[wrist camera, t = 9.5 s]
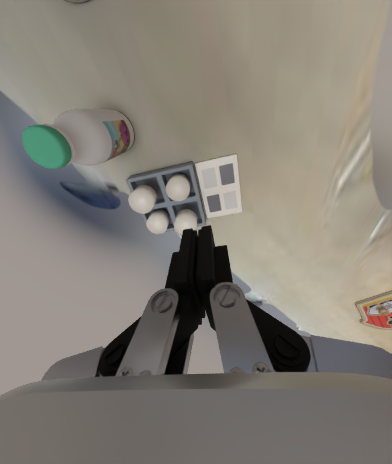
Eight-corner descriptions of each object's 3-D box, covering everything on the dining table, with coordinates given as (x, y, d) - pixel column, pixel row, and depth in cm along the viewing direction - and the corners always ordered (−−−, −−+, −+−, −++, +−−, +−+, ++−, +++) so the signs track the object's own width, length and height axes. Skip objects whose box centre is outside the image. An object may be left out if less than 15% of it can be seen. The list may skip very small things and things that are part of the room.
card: (195, 163, 39) (195, 164, 38) (236, 153, 38) (236, 154, 37) (207, 217, 47) (207, 218, 46) (241, 210, 45) (242, 212, 45)
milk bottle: (92, 136, 37) (0, 156, 21) (105, 99, 33) (6, 87, 17) (126, 159, 39) (68, 194, 23) (141, 127, 36) (86, 141, 19)
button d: (174, 208, 42) (171, 219, 38) (194, 204, 41) (193, 214, 37) (180, 225, 44) (177, 237, 40) (199, 222, 44) (198, 234, 40)
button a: (132, 185, 39) (124, 193, 35) (153, 180, 38) (147, 188, 34) (141, 205, 42) (134, 215, 38) (161, 201, 41) (156, 211, 37)
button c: (148, 208, 45) (143, 218, 41) (167, 205, 45) (163, 214, 40) (155, 224, 48) (150, 235, 44) (173, 221, 47) (169, 232, 43)
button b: (166, 174, 40) (162, 181, 36) (188, 169, 39) (185, 176, 35) (173, 194, 43) (169, 203, 39) (193, 190, 42) (191, 198, 38)
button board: (130, 175, 41) (125, 180, 39) (192, 161, 39) (191, 164, 36) (153, 228, 50) (150, 234, 47) (205, 219, 47) (205, 225, 45)
